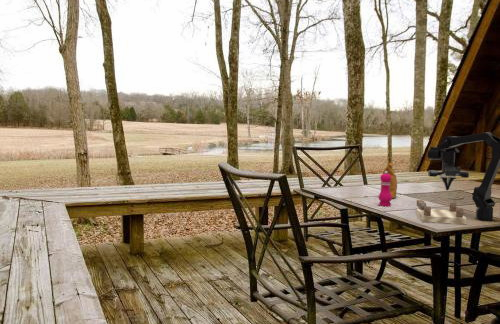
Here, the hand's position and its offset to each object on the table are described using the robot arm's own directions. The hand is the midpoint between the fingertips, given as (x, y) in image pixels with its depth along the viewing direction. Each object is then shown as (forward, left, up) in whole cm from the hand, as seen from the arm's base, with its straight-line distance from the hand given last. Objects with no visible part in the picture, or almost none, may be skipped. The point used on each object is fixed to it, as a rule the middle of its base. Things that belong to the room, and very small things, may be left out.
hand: (447, 190), depth 219 cm
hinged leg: (+13, +5, -9) cm, 17 cm away
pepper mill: (+30, -13, -12) cm, 35 cm away
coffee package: (+26, -42, -12) cm, 51 cm away
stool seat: (+6, +17, -12) cm, 22 cm away
